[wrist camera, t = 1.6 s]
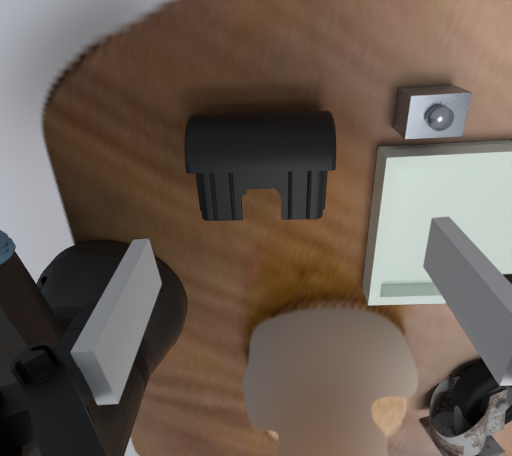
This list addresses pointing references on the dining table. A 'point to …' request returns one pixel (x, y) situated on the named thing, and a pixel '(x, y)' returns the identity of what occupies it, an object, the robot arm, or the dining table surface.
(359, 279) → the dining table surface
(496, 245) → the pale green tray
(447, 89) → the block
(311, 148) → the end cap
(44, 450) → the robot arm
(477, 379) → the caster wheel
